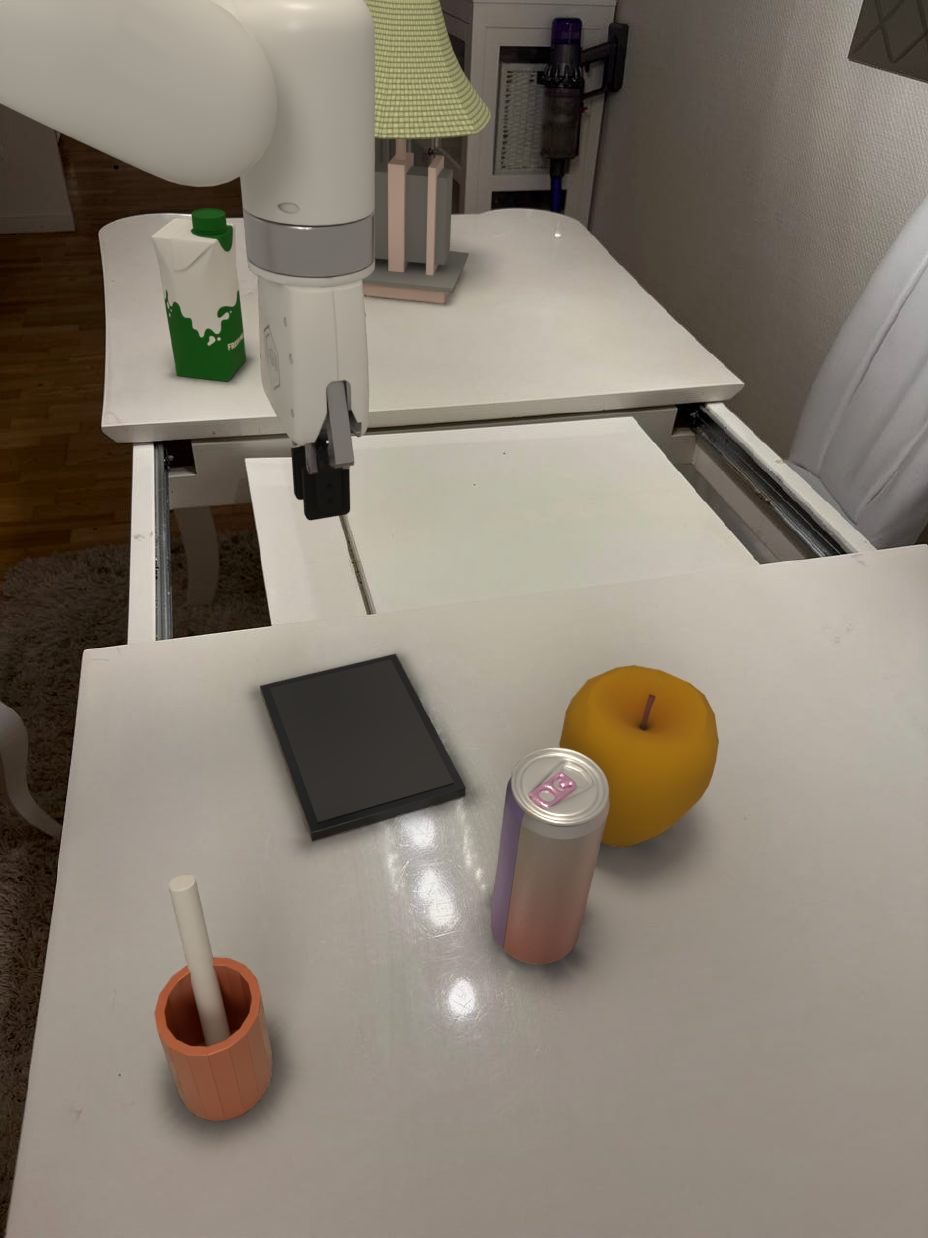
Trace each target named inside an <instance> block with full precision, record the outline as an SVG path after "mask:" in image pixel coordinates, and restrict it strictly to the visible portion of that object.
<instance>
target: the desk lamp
mask: <svg viewBox="0 0 928 1238" xmlns="http://www.w3.org/2000/svg"><path fill="white" fill-rule="evenodd" d="M363 1H364V2H365V3H366V5H367V7H368V8H369V10H370V12H371V15H372V18H373V23H374V35H375V139H381V140H395V154H394V155H393V157H392V158H391V159H390V161H389V162H388V163H387V162H376V161H375V269H374V271H373V272H372V273H371V274H370V275H369V276H367V277H366V278H364V279H362V283H363V294H364V296H368V297H376V298H377V297H378V298H387V299H397V300H405V301H406V300H407V301H414V302H415V301H417V302H425V303H427V302H428V303H435V304H445V302H446V300H447V297H448V295H449V293H454V291H455V288H456V287H457V285H458V282H459V280H460V277H461V275H462V272H463V270H464V267H465V265H466V263H467V261H468V258H469V254H470V253H469V252H465V251H464V252H463V251H454V250H451V231H452V207H453V204H452V203H453V180H454V179H453V178H454V177H453V176H454V168H453V169H452V168H445V167H444V165H445V156H444V155H439V154H436V155H435V157H434V158H433V160H432V161H431V163H430V164H429V165H428V166H420V165H414V159H415V157H414V156H415V155H414V152H407V140H423V139H425V140H426V139H444V138H445V139H447V138H455V137H456V138H457V137H466V136H467V137H468V136H475V135H477V134H479V133H481V131H482V130H483V129H485V127H486V126H487V125H488V123H489V121H490V119H491V117H492V116H491V110H490V109H489V107H488V106H487V104H486V103H485V102H484V101H483V99H482V98H481V97H480V95H479V94H478V92H477V91H476V89H475V88H474V87H473V84H471V82H470V80H469V78H468V77H467V76H466V74H465V72H464V71H463V69H462V67H461V65H460V63H459V60H458V58H457V56H456V54H455V51H454V49H453V46H452V42H451V39H450V36H449V33H448V30H447V25H446V22H445V18H444V14H443V10H442V6H441V3H440V0H363Z"/></svg>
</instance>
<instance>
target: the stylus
mask: <svg viewBox="0 0 928 1238" xmlns="http://www.w3.org/2000/svg"><path fill="white" fill-rule="evenodd" d="M168 890H169V895H170V899H171V903H172V907H173V913H174V916H175V920H176V923H177V928H178V933H179V936H180V941H181V945H182V949H183V953H184V954H183V955H184V958H185V963H186V966H187V967H188V969H189V971H190V972H191V984H192V988H193V992H194V996H195V1001H196V1005H197V1009H198V1013H199V1018H200V1022H201V1026H202V1030H203V1034H204V1039H205V1043H206V1046H207V1047H208V1046H211V1045H214V1044H216V1043H219V1042H222V1041H225V1040H226V1039H228V1038H229V1037H230V1036H231V1035H230V1031H229V1026H228V1022H227V1017H226V1013H225V1008H224V1004H223V999H222V995H221V990H220V986H219V981H218V977H217V974H216V971H215V969H214V967H213V962H214V959H213V957H214V953H213V951H212V946H211V941H210V937H209V931H208V928H207V923H206V919H205V915H204V909H203V905H202V901H201V896H200V892H199V887H198V882H197V878H196V877H195V875H192V874H188V873H185V874H179V875H177V876H176V877H174V878H172V879H171V880H170V881H169V883H168Z"/></svg>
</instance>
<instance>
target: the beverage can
mask: <svg viewBox="0 0 928 1238" xmlns="http://www.w3.org/2000/svg"><path fill="white" fill-rule="evenodd" d="M609 805H610V801H609V785H608V781H607V778H606V776H605V774H604V773H603V771H602V770H601V768H600V767H599V766H598V765H597V764H596V763H595V762H594V761H593V760H591V759H590V758H589V757H587V756H585V755H583V754H581V753H579V752H577V751H574V750H570V749H566V748H560V747H558V746H557V747H556V746H555V747H551V746H550V747H543V748H539V749H535V750H533V751H531V752H529V753H527V754H525V755H524V756H523V757H522V758H520V759H519V760H518V761H517V763H516V764H515V766H514V768H513V770H512V772H511V776H510V778H509V779H508V781H507V784H506V788H505V796H504V805H503V815H502V821H501V830H500V837H499V846H498V854H497V860H496V870H495V878H494V886H493V895H492V903H491V910H490V911H491V912H490V928H491V932H492V935H493V937H494V940H495V941H496V942H497V944H498V945H499V946H500V948H501V949H502V950H503V951H504V952H505V953H506V954H507V955H509V956H510V957H512V958H513V959H516V960H517V961H520V962H523V963H525V964H526V963H527V964H531V965H545V964H546V965H547V964H551V963H554V962H557V961H559V960H562V959H563V958H565V957H566V956H567V955H569V953H570V952H571V951H572V950H574V948H575V946H576V944H577V943H578V940H579V938H580V937H579V936H580V932H581V928H582V924H583V920H584V917H585V916H584V915H585V911H586V908H587V903H588V899H589V895H590V891H591V887H592V882H593V878H594V874H595V869H596V865H597V861H598V857H599V853H600V850H601V849H600V848H601V845H602V843H601V841H602V837H603V832H604V828H605V824H606V820H607V816H608V811H609Z"/></svg>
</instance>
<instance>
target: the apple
mask: <svg viewBox="0 0 928 1238" xmlns="http://www.w3.org/2000/svg"><path fill="white" fill-rule="evenodd" d="M719 744H720V739H719V732H718V727H717V719H716V714H715V712H714V710H713V708H712V706H711V704H710V702H709V701H708V699H707V696H706V695H705V694H704V693H703V692H702V691H701V690H699V689H698V688H697V687H696V686H695V685H693V684H692V683H690V682H689V681H687V680H684V679H682V678H680V677H678V676H676V675H673V674H671V673H669V672H666V671H664V670H661V669H657V668H652V667H645V666H641V665H636V664H633V665H632V664H631V665H625V666H617V667H614V668H612V669H610V670H607V671H605V672H603V673H600V674H598V675H596V676H592V677H590V678H589V679H586V681H585V682H584V684H583V685H582V686H581V687H580V688H579V690H578V691H577V692H576V693H575V694H574V695H573V696H572V698H571V700H570V702H569V704H568V706H567V708H566V710H565V714H564V720H563V724H562V730H561V733H560V739H559V748H566V749H570V750H574V751H577V752H579V753H581V754H583V755H585V756H587V757H589V758H590V759H591V760H593V761H594V762H595V763H596V764H597V765H598V766H599V767H600V768H601V770H602V771H603V773H604V774H605V776H606V778H607V781H608V785H609V801H610V805H609V811H608V816H607V820H606V824H605V828H604V832H603V837H602V841H601V845H606V846H609V847H613V848H616V849H620V848H630V847H632V846H635V845H638V844H640V843H643V842H646V841H648V840H651V839H654V838H656V837H658V836H660V835H661V834H663V833H665V832H666V831H667V830H669V829H670V828H671V827H673V826H675V825H676V824H677V823H678V822H679V821H680V820H682V818H683V817H684V816H685V815H686V814H688V813H689V811H690V810H691V809H692V808H693V807H694V806H695V805H696V804H697V803H698V802H700V800H701V799H702V797H703V796H704V794H705V792H706V791H707V790H708V788H709V786H710V783H711V781H712V778H713V776H714V771H715V767H716V765H717V764H716V763H717V760H718V759H717V758H718V751H719Z"/></svg>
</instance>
